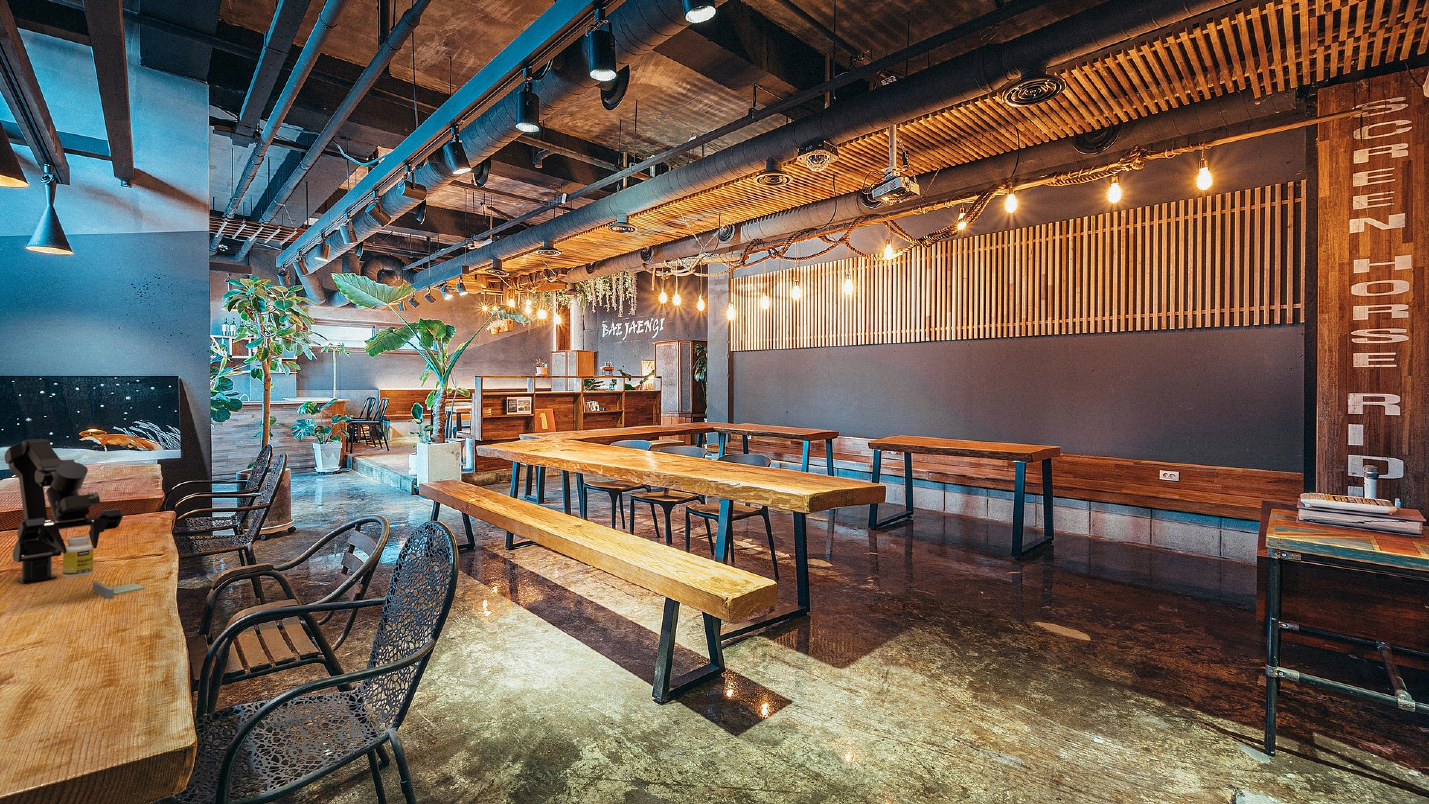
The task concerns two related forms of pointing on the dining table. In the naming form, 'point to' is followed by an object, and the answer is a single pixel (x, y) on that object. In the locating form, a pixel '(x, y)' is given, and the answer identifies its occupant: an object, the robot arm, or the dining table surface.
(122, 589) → the coaster
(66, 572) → the supplement bottle
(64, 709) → the dining table surface
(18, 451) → the robot arm
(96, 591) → the acrylic wall
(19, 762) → the dining table surface
